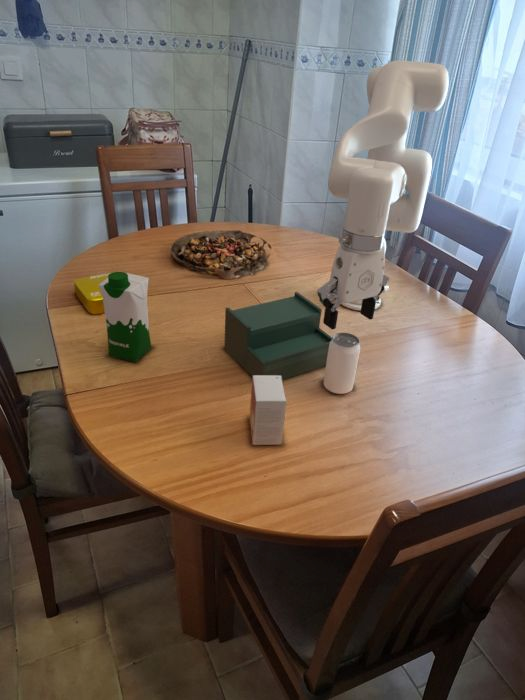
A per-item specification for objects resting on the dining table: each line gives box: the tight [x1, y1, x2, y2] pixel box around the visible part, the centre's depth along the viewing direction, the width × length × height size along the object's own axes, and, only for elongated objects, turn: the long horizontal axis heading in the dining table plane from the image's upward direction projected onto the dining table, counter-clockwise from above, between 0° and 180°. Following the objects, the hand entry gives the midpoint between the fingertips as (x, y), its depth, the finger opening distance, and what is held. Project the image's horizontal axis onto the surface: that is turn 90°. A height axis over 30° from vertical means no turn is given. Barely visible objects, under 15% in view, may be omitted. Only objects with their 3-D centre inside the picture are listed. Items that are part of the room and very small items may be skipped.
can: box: [323, 332, 361, 395], centre depth 108 cm, size 6×6×12 cm
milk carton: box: [99, 271, 152, 363], centre depth 113 cm, size 9×9×20 cm
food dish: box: [169, 229, 273, 280], centre depth 168 cm, size 35×33×8 cm
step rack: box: [223, 291, 333, 381], centre depth 118 cm, size 17×20×11 cm
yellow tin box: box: [73, 270, 128, 315], centre depth 138 cm, size 15×15×5 cm
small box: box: [249, 375, 287, 446], centre depth 95 cm, size 8×6×10 cm
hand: (348, 321), depth 103 cm, fingers open, 9 cm apart
